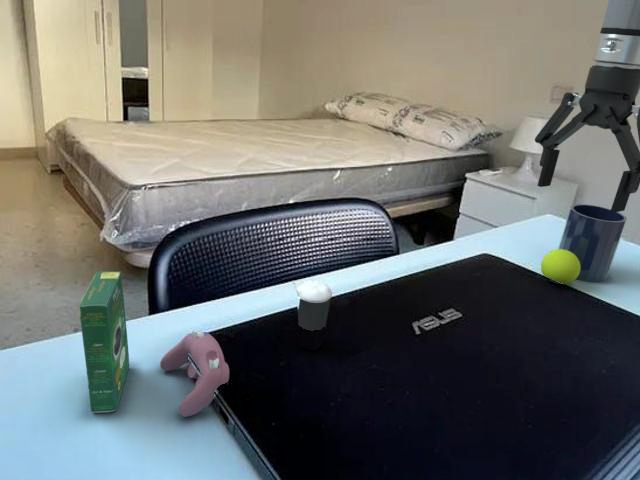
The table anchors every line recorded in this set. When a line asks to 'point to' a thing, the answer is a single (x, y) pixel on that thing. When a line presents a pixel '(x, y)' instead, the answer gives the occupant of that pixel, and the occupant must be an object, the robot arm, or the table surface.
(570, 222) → the tube
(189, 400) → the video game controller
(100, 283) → the coffee box
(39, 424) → the table surface
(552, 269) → the tennis ball
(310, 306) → the milkshake
